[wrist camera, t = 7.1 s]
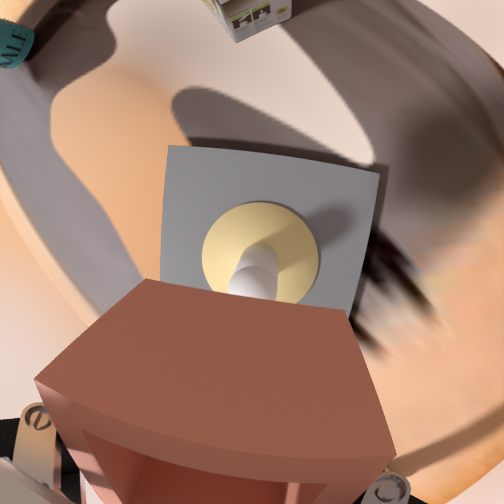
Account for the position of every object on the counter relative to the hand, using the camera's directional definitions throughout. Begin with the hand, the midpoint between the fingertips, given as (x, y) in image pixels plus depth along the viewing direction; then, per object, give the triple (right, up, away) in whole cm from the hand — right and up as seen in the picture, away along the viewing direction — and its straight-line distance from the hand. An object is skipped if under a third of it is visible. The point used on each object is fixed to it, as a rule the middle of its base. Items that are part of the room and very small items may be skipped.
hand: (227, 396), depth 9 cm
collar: (0, 0, +1) cm, 1 cm away
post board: (+2, +5, +17) cm, 18 cm away
